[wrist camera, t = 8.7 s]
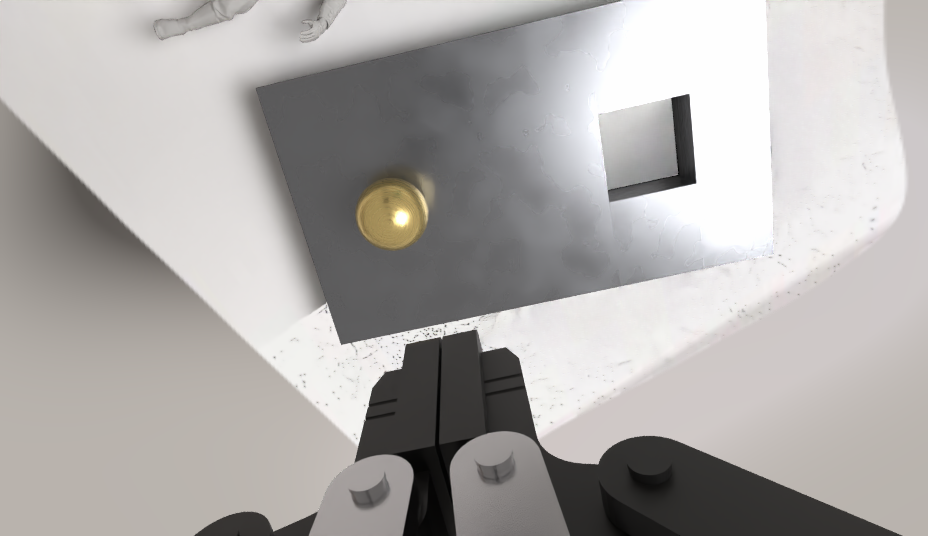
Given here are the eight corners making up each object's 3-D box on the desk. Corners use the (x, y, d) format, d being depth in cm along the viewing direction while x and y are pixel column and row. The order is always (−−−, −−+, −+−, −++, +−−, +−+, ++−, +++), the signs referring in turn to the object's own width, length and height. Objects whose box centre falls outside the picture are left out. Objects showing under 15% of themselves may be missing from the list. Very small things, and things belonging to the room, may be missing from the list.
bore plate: (271, 86, 29) (255, 88, 27) (737, -25, 28) (764, -34, 25) (349, 325, 34) (341, 344, 31) (750, 240, 32) (773, 254, 30)
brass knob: (353, 180, 28) (339, 195, 25) (420, 164, 28) (416, 178, 25) (371, 245, 29) (361, 267, 26) (436, 230, 29) (434, 251, 26)
